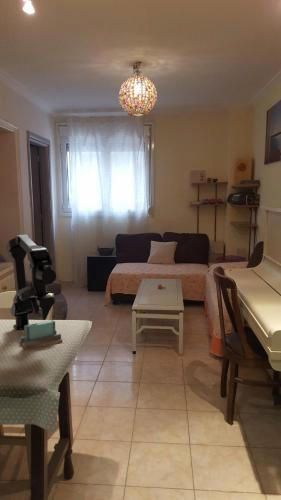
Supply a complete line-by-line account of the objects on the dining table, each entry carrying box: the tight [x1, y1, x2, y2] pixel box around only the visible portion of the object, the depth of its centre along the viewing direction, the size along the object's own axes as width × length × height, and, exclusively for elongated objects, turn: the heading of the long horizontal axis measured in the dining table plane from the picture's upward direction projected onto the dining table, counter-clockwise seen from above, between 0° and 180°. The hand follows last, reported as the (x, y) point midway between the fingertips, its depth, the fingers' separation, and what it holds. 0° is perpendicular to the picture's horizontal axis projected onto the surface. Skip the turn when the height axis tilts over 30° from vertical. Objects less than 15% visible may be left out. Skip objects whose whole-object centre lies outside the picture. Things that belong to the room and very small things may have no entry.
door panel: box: [24, 319, 57, 341], centre depth 150 cm, size 12×2×7 cm, turn 124°
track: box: [18, 329, 64, 351], centre depth 151 cm, size 9×15×3 cm, turn 124°
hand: (40, 316), depth 149 cm, fingers open, 9 cm apart
